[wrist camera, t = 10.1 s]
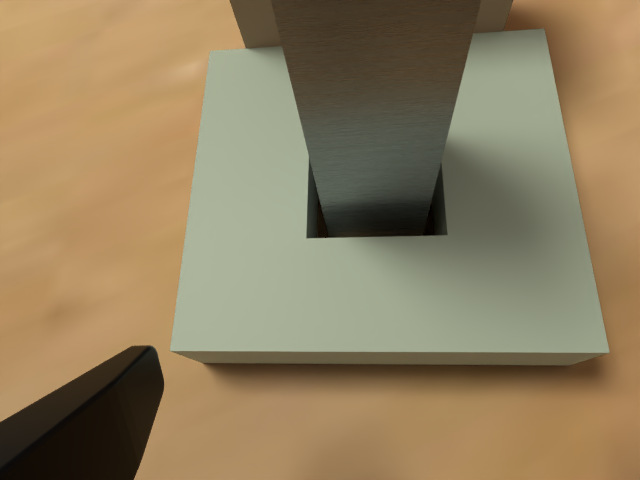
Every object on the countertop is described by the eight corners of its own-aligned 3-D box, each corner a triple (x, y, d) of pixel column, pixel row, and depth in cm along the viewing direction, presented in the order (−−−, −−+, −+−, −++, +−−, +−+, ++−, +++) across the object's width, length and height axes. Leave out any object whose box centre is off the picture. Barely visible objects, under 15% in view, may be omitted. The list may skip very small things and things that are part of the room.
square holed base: (569, 365, 16) (774, 300, 8) (202, 363, 18) (46, 305, 9) (507, -4, 22) (585, -258, 14) (239, 17, 24) (166, -203, 16)
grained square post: (419, 248, 18) (558, -308, 4) (332, 251, 19) (208, -255, 5) (412, 171, 20) (504, -448, 6) (331, 175, 20) (230, -400, 6)
